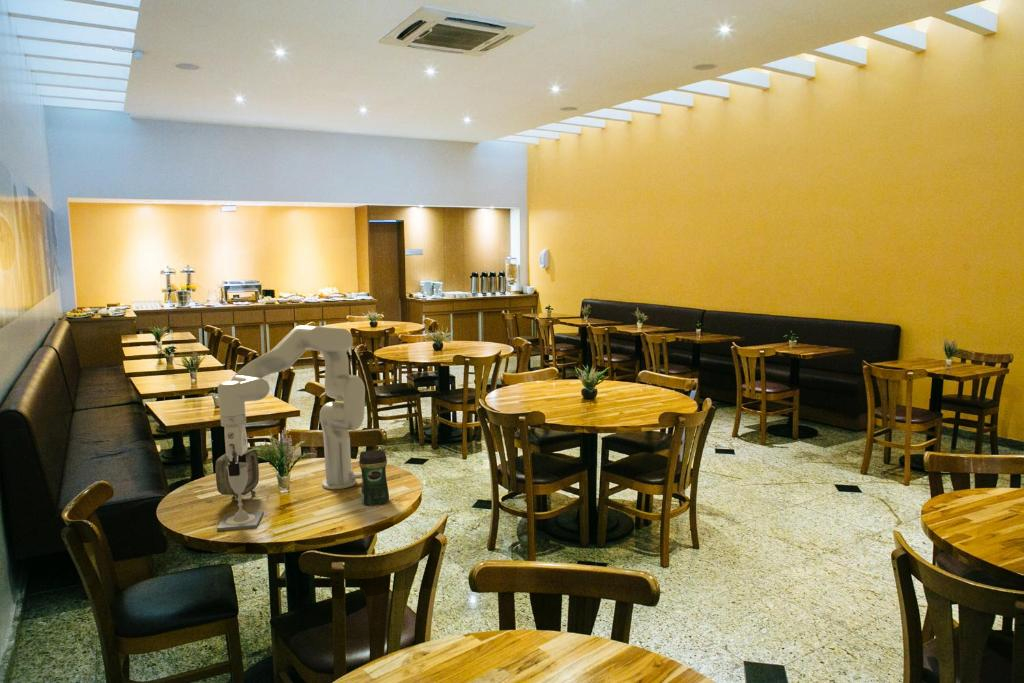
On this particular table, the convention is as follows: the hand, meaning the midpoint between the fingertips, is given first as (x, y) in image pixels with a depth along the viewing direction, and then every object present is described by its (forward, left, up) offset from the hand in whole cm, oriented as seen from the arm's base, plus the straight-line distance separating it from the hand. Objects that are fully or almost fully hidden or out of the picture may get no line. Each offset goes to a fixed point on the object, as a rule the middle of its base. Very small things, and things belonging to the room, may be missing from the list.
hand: (238, 470), depth 221 cm
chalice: (0, 0, -17) cm, 17 cm away
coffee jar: (-43, -9, -18) cm, 47 cm away
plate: (0, 0, -17) cm, 17 cm away
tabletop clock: (+5, -21, -18) cm, 28 cm away
